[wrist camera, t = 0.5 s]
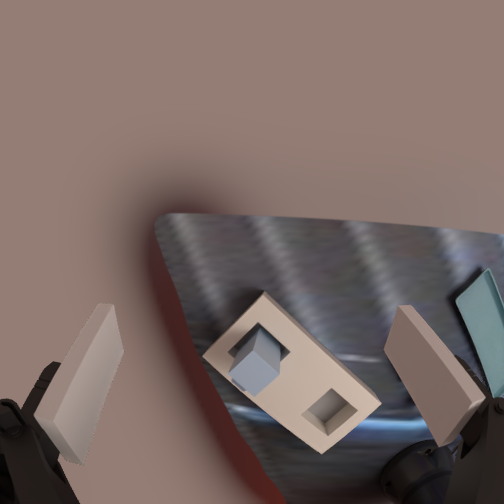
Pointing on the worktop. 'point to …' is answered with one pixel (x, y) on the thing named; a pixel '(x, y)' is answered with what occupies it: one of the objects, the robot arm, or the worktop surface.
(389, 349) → the robot arm
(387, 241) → the worktop surface
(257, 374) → the plug
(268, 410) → the socket strip
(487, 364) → the rectangular tray
